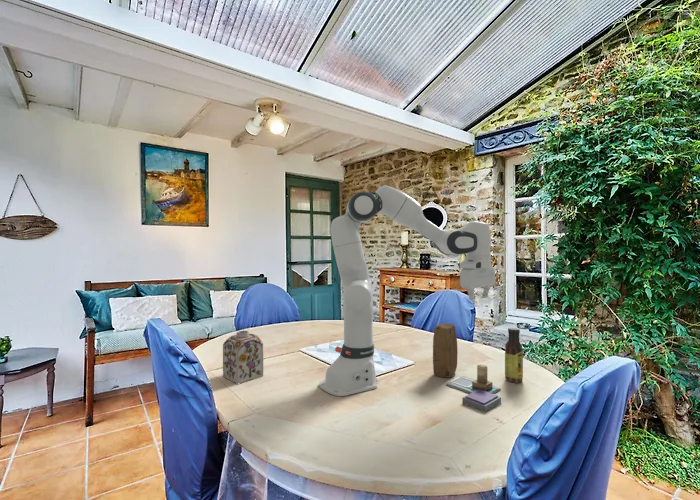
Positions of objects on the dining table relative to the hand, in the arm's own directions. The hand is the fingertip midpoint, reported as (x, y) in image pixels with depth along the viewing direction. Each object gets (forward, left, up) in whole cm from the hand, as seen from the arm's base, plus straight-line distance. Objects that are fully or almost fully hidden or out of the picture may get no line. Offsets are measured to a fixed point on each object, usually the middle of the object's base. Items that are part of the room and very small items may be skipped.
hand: (478, 298), depth 135 cm
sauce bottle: (+8, -10, -31) cm, 34 cm away
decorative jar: (-70, +61, -31) cm, 98 cm away
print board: (-10, -3, -31) cm, 33 cm away
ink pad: (-19, -12, -31) cm, 38 cm away
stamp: (-10, -7, -30) cm, 33 cm away
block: (-6, +11, -31) cm, 34 cm away
